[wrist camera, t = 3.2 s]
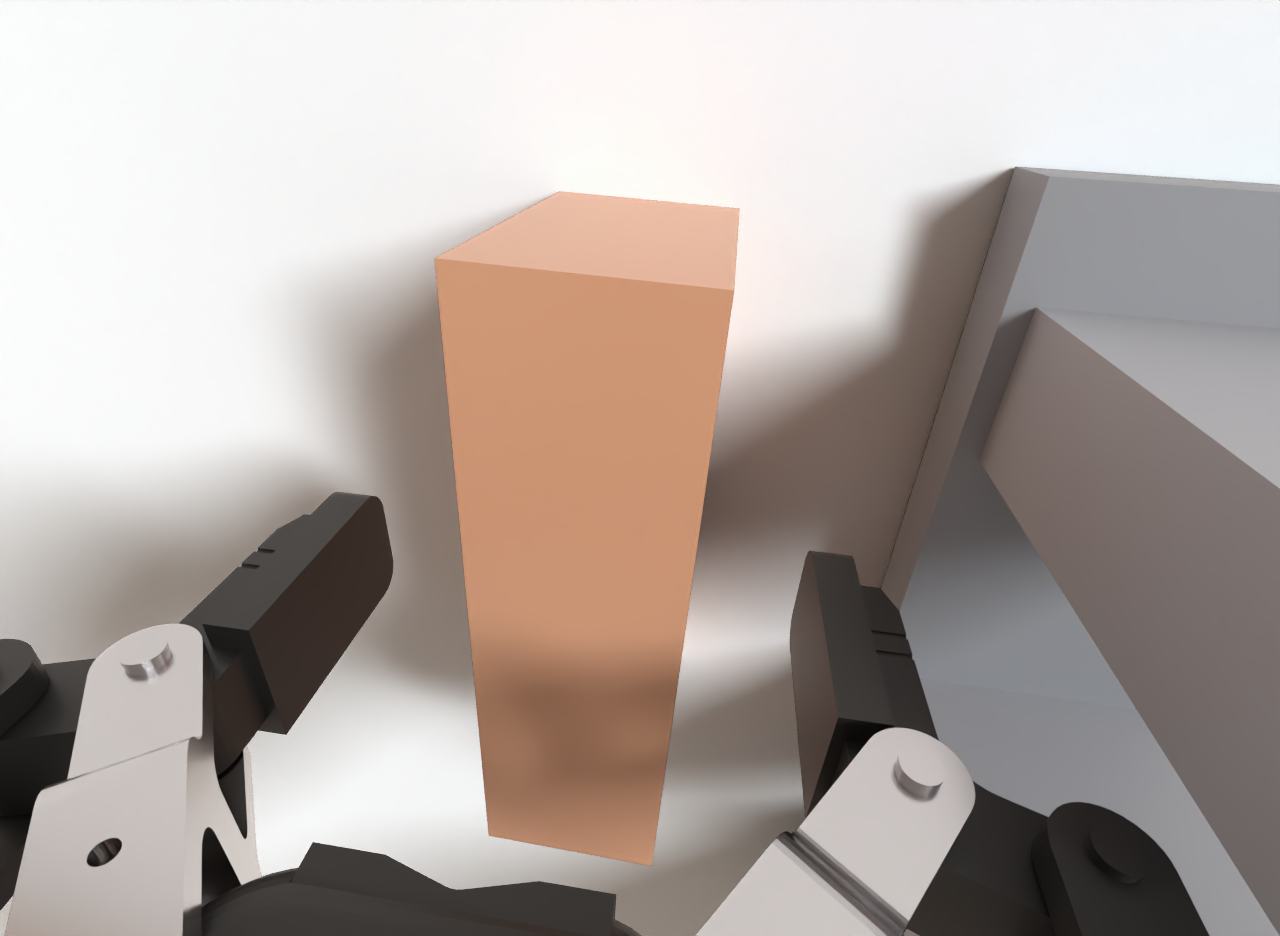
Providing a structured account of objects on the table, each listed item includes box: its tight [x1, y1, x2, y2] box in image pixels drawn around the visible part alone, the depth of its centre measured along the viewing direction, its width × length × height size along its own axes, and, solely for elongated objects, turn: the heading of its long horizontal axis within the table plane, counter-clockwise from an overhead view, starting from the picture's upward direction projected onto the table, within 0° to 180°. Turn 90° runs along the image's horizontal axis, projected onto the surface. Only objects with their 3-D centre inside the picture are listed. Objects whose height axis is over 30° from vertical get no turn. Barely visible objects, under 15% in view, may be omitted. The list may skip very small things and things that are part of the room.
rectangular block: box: [435, 191, 739, 866], centre depth 13 cm, size 4×12×6 cm, turn 176°
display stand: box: [881, 167, 1280, 936], centre depth 11 cm, size 7×16×10 cm, turn 177°
